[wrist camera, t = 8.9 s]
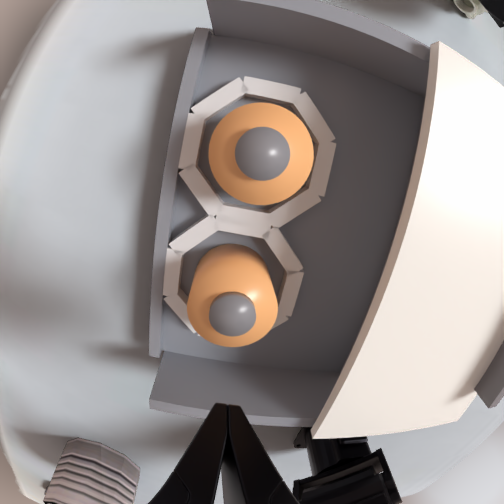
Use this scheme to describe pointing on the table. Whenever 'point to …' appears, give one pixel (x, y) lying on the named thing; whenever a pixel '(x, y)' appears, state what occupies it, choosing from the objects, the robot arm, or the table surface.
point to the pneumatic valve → (483, 9)
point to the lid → (436, 273)
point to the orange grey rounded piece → (232, 297)
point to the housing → (285, 201)
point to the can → (92, 476)
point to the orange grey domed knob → (261, 153)
